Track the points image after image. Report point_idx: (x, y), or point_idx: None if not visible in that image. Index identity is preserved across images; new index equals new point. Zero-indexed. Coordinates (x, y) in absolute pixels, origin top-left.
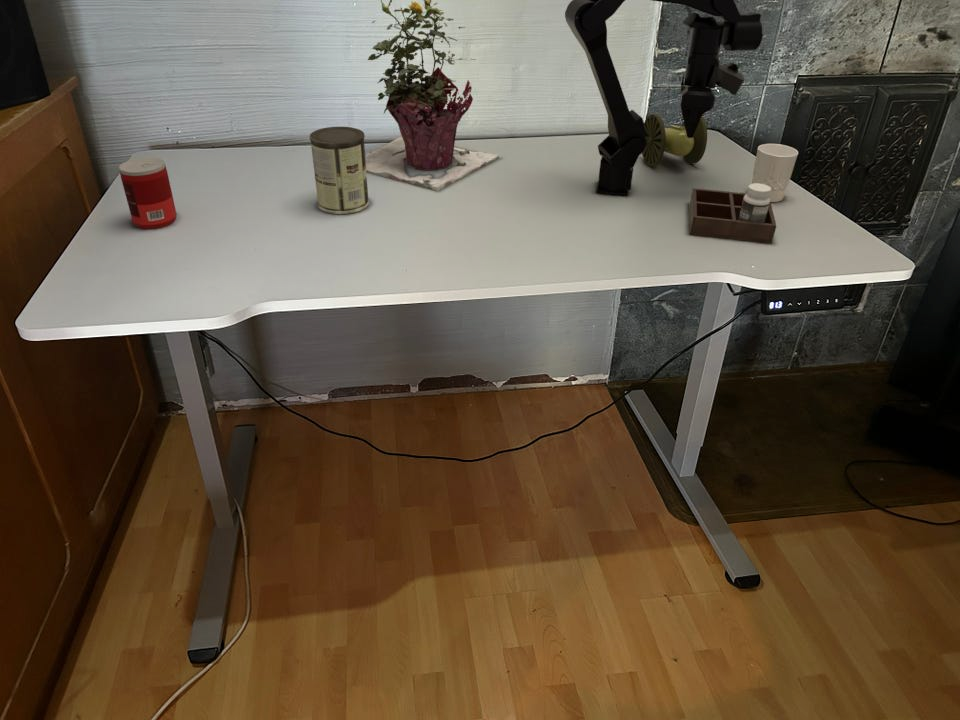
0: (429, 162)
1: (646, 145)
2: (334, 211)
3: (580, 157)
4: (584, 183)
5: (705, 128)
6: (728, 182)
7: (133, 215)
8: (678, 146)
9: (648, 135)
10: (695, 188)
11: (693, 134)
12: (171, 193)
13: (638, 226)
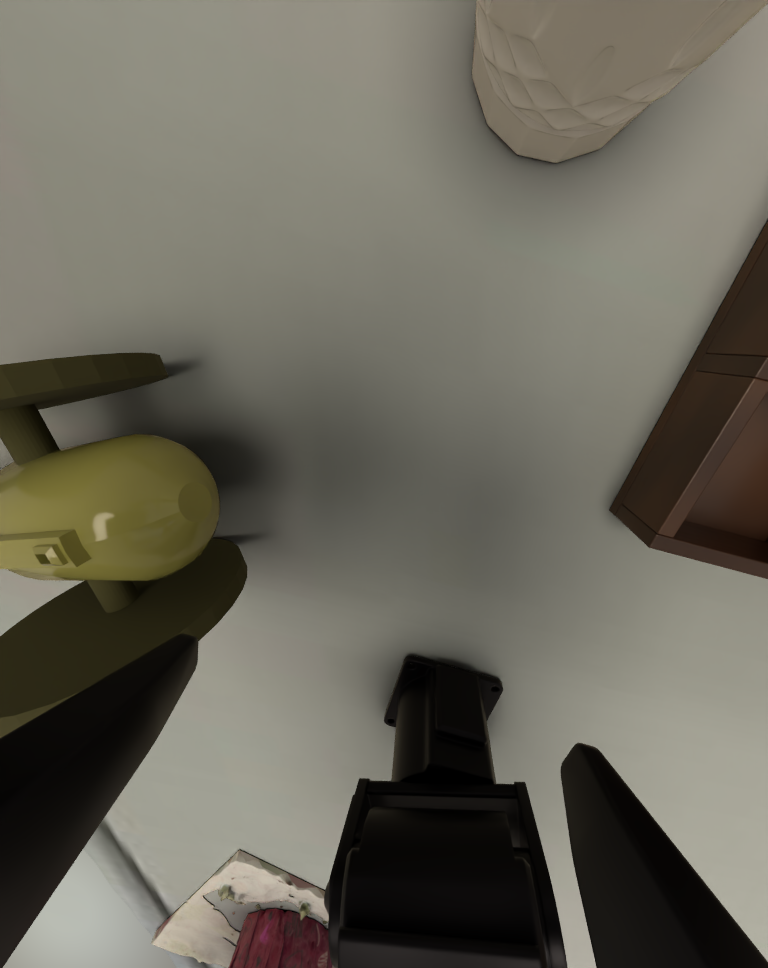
0: (330, 965)
1: (527, 867)
2: None
3: (184, 710)
4: (392, 745)
5: None
6: (352, 246)
7: None
8: (206, 535)
9: (539, 952)
10: (660, 538)
11: (626, 787)
12: None
13: (752, 705)
